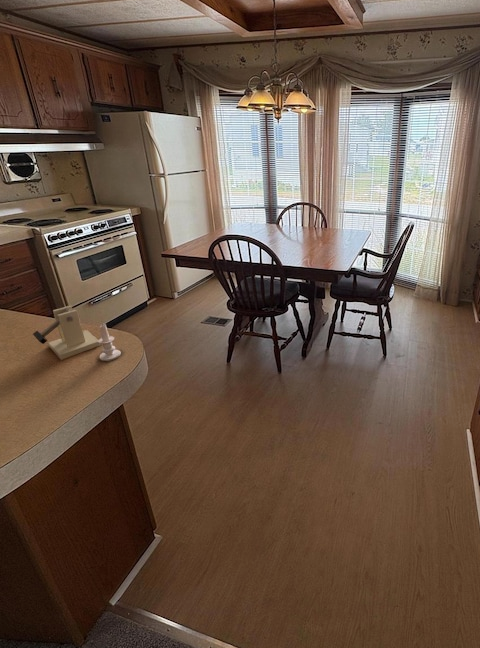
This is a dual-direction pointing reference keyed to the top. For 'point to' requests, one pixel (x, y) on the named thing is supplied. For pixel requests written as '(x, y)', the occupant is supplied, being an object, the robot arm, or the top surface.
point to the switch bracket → (71, 335)
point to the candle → (107, 345)
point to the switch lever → (47, 330)
